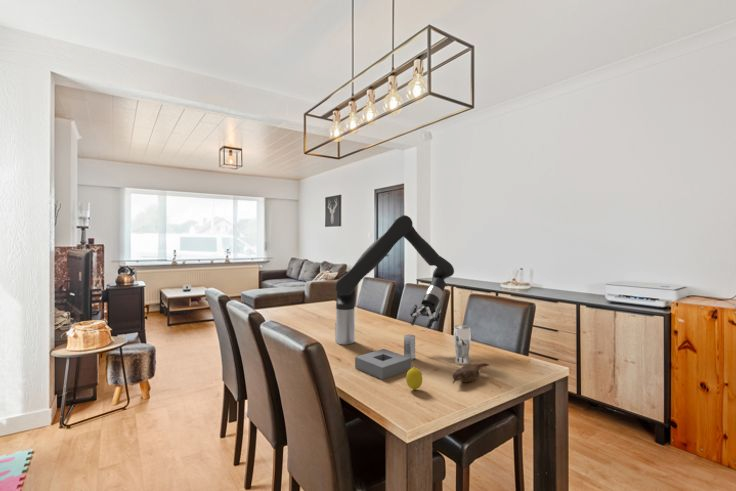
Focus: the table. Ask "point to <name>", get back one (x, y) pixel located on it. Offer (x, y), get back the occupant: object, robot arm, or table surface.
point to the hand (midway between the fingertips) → (419, 326)
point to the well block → (383, 363)
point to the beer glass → (462, 344)
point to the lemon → (414, 378)
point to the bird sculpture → (468, 372)
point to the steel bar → (409, 346)
